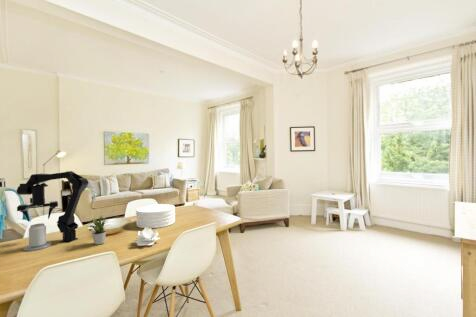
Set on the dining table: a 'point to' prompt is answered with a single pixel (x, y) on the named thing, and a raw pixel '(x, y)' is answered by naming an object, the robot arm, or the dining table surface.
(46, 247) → the coaster
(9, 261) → the dining table surface
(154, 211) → the plate stack
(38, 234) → the can
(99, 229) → the house plant
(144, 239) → the lotus flower
